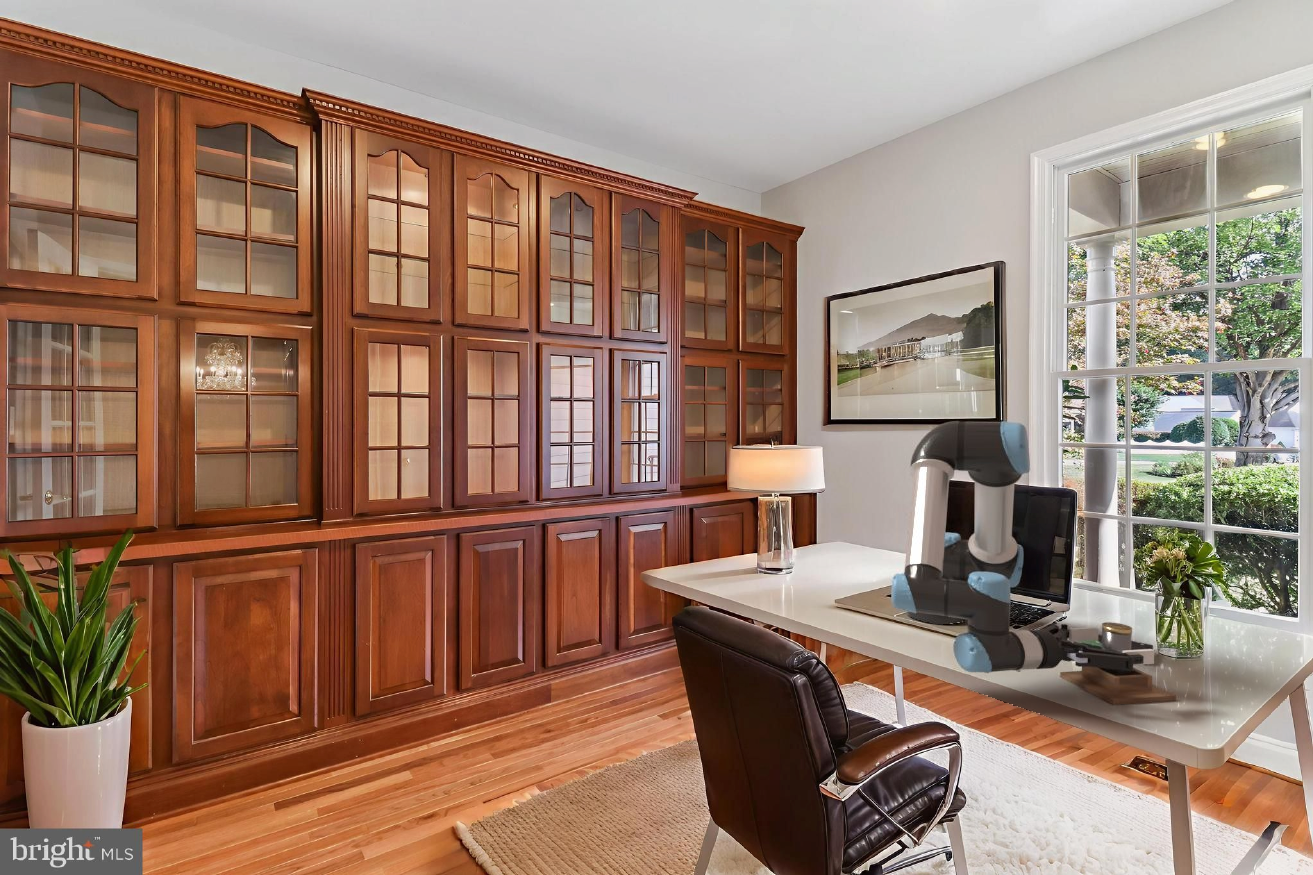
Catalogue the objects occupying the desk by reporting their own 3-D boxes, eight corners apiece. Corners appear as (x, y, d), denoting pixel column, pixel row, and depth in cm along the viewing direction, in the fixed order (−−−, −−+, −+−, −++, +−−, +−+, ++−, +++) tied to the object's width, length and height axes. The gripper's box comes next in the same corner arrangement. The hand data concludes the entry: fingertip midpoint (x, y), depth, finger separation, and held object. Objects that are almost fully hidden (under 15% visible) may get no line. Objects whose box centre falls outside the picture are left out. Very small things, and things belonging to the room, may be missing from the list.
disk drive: (1152, 656, 159) (1080, 640, 169) (1153, 644, 159) (1080, 629, 169) (1147, 668, 151) (1071, 651, 161) (1147, 656, 151) (1072, 639, 161)
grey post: (1094, 678, 141) (1095, 622, 141) (1115, 677, 142) (1117, 621, 141) (1114, 689, 136) (1116, 630, 135) (1137, 687, 137) (1138, 629, 136)
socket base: (1060, 676, 145) (1060, 658, 145) (1117, 673, 147) (1117, 655, 147) (1113, 704, 131) (1114, 684, 131) (1175, 700, 133) (1176, 680, 133)
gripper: (990, 646, 148) (1076, 641, 151) (1078, 693, 123) (1178, 686, 126) (991, 612, 147) (1077, 608, 151) (1080, 653, 123) (1179, 647, 126)
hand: (1123, 644), depth 139 cm, fingers open, 13 cm apart
